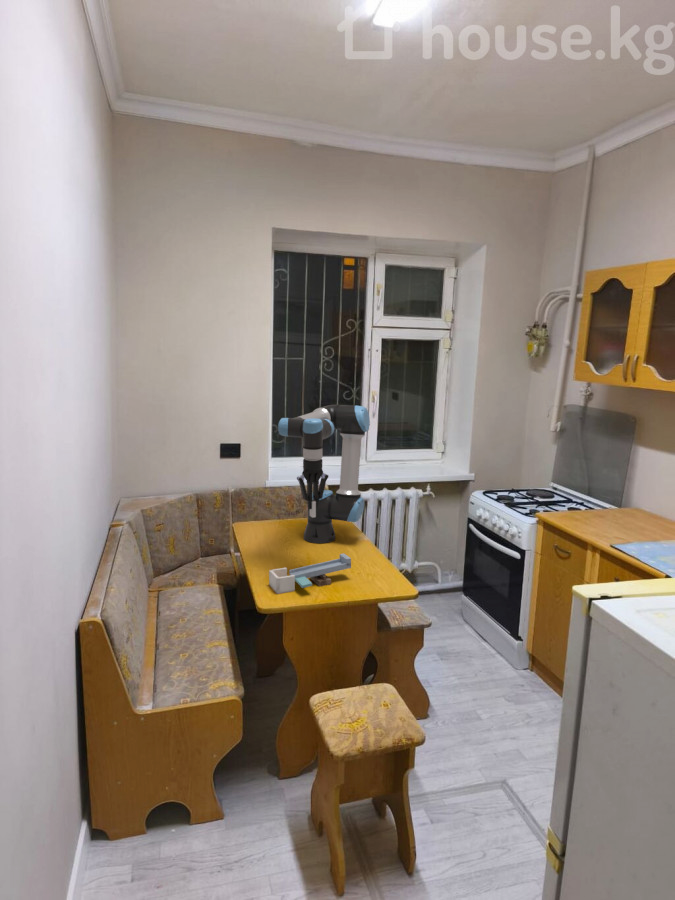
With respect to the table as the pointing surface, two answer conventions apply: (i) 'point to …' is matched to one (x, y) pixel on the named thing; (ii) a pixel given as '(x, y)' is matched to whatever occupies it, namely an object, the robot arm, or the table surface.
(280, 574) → the bin
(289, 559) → the table surface
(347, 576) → the table surface
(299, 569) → the lever
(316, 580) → the brown recessed block
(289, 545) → the table surface
